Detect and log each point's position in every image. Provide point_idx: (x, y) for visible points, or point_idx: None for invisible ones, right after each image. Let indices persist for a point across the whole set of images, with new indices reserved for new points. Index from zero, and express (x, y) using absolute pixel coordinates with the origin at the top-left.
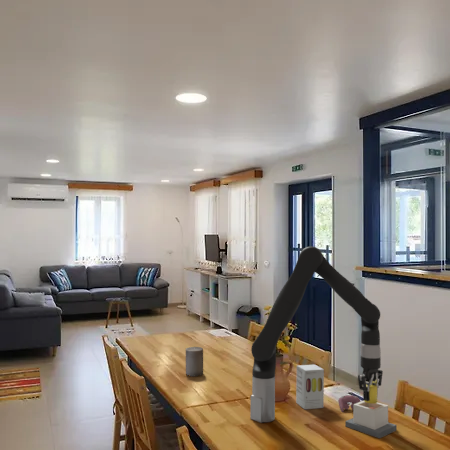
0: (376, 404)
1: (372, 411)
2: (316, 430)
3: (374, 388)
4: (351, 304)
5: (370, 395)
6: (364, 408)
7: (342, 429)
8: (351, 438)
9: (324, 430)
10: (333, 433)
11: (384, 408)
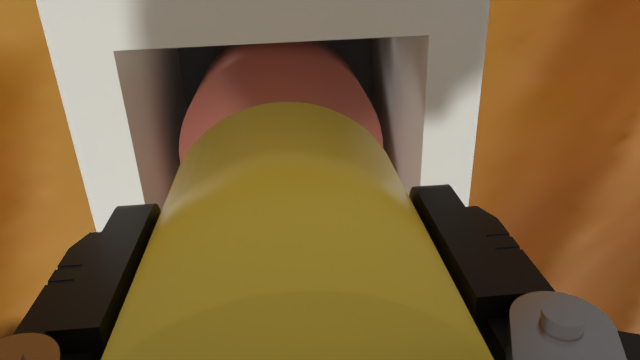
0: (143, 169)
1: (481, 11)
2: (635, 292)
3: (387, 279)
4: None
5: (420, 224)
6: (467, 157)
7: (489, 207)
8: (615, 48)
9: (599, 265)
10: (610, 197)
11: None
